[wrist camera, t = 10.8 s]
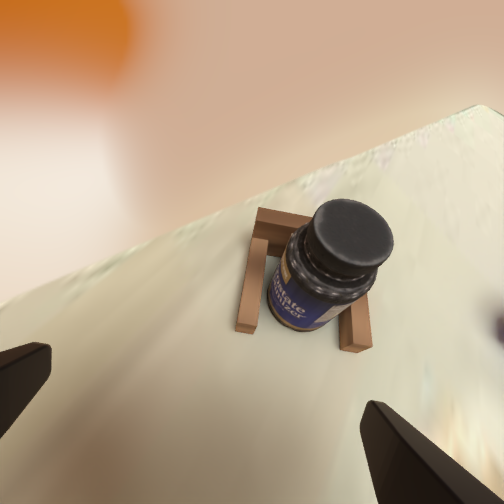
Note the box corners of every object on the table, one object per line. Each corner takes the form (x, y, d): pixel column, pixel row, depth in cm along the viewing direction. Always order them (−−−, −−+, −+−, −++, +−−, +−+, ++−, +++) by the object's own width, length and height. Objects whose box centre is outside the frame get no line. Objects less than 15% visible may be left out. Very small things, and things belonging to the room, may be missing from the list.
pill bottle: (254, 284, 24) (279, 204, 15) (307, 261, 26) (358, 178, 17) (289, 346, 21) (347, 297, 12) (344, 315, 23) (430, 252, 14)
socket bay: (357, 352, 22) (391, 338, 18) (235, 331, 22) (240, 311, 17) (350, 258, 27) (375, 229, 23) (251, 239, 27) (258, 207, 22)
